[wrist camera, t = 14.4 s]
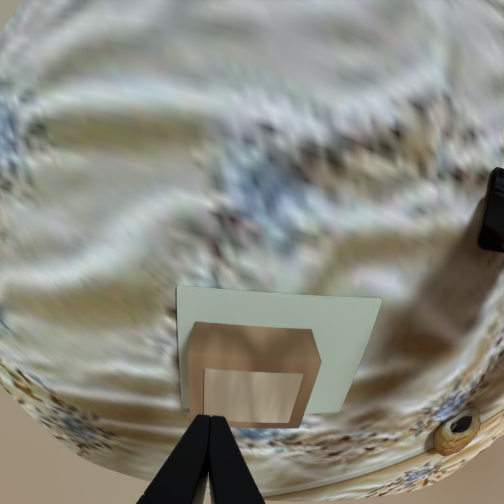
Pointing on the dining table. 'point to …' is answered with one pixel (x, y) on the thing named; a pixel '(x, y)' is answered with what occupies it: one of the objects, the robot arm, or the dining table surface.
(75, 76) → the dining table surface
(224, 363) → the wooden block
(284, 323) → the mat
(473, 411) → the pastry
